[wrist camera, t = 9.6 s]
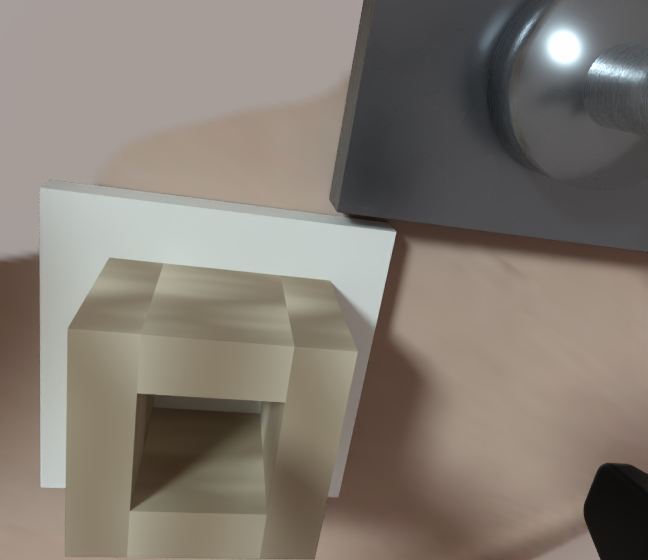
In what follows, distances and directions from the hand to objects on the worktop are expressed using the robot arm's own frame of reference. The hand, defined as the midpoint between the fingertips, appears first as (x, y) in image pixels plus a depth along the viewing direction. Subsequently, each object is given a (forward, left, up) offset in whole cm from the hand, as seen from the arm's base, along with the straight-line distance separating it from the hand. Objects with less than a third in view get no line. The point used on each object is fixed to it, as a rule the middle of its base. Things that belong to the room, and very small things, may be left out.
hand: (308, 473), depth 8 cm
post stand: (-8, -6, -11) cm, 14 cm away
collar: (+1, +4, -10) cm, 11 cm away
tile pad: (+1, +4, -11) cm, 11 cm away
